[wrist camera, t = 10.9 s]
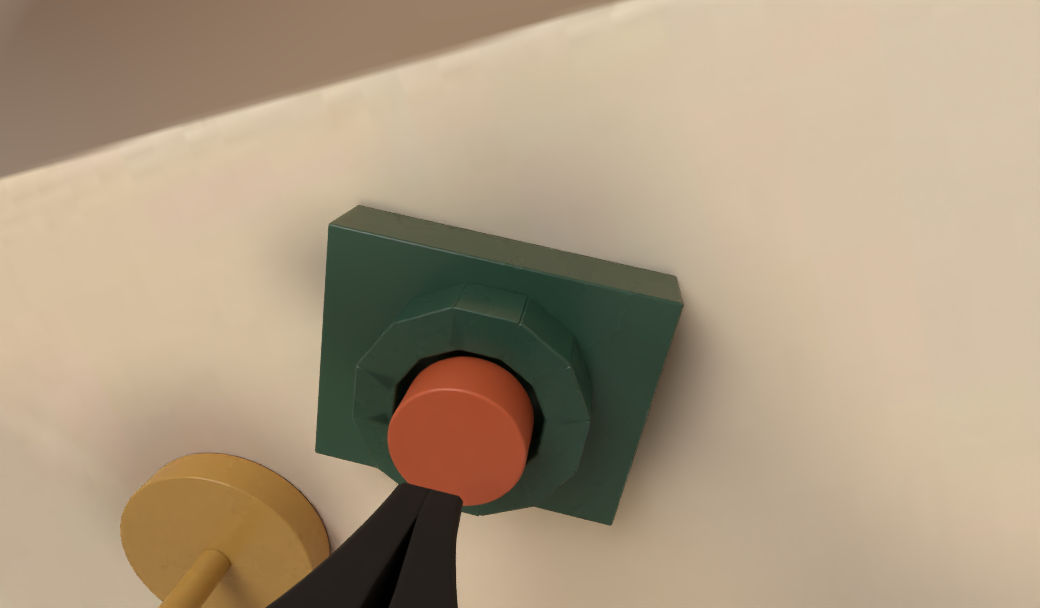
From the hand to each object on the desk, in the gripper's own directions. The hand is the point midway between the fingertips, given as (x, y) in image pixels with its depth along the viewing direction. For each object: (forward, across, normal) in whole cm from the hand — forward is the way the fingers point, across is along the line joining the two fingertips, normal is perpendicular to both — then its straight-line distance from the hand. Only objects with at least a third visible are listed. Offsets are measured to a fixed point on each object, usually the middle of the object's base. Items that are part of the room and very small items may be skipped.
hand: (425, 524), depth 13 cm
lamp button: (+4, 0, 0) cm, 4 cm away
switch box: (+8, 0, 0) cm, 8 cm away
